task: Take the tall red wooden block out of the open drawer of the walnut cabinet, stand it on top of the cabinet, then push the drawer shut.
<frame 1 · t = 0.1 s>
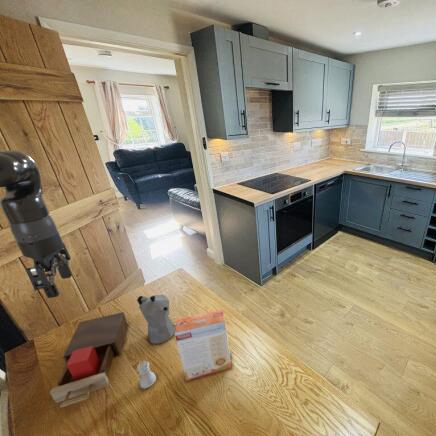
hand: (60, 286, 65), 33 cm above the table, tool pointing down, fingers open, 8 cm apart
drawer: (85, 374, 73), point 3 cm above the table, slide at 10.0 cm, touching block
block: (88, 372, 75), point 2 cm above the table, touching drawer
rook chess piece: (148, 382, 74), on the table
cabinet: (101, 345, 86), on the table
grey upright piece: (160, 333, 91), on the table
cracker box: (209, 366, 79), on the table
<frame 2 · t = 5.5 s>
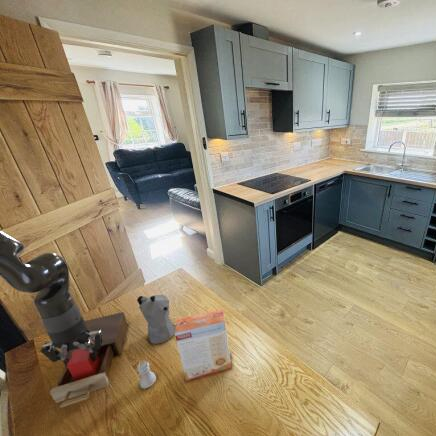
hand: (83, 362, 73), 7 cm above the table, tool pointing down, fingers closed on block, 5 cm apart
block: (88, 372, 75), point 2 cm above the table, touching drawer, gripper
everything else where it was.
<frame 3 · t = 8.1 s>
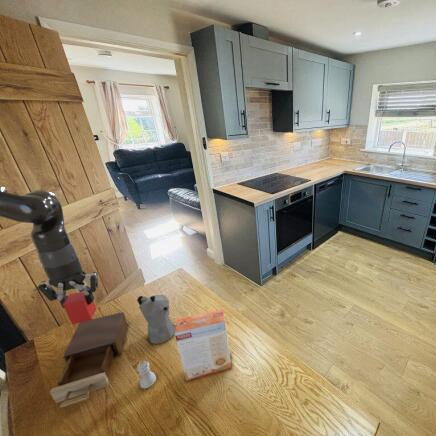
hand: (79, 304, 75), 21 cm above the table, tool pointing down, fingers closed on block, 5 cm apart
drawer: (85, 374, 73), point 3 cm above the table, slide at 10.0 cm
block: (84, 316, 77), point 16 cm above the table, touching gripper
everything else where it was.
when the fingers open (12 cm above the table, at t = 11.0 s): block stays where it is, resting on cabinet.
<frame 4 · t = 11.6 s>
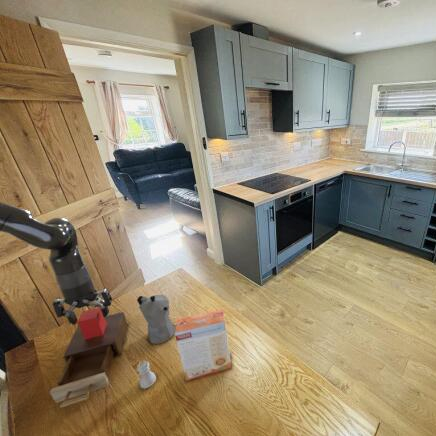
hand: (90, 318, 81), 13 cm above the table, tool pointing down, fingers open, 8 cm apart
block: (96, 331, 83), point 7 cm above the table, touching cabinet
everything else where it was.
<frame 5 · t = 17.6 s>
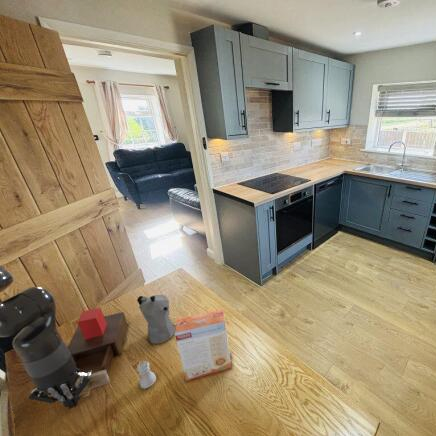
hand: (73, 404, 65), 4 cm above the table, tool pointing down, fingers closed
drawer: (86, 371, 73), point 3 cm above the table, slide at 9.1 cm, touching gripper
everything else where it was.
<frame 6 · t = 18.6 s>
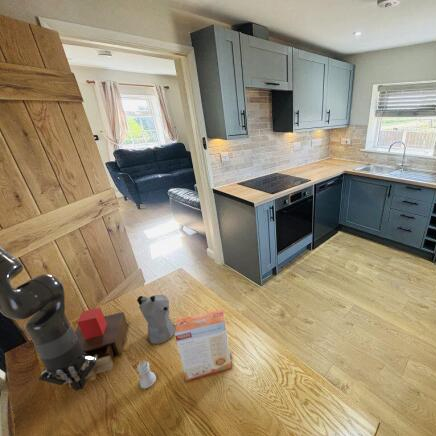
hand: (80, 386, 69), 3 cm above the table, tool pointing down, fingers closed
drawer: (91, 357, 78), point 3 cm above the table, slide at 4.1 cm, touching gripper
everything else where it was.
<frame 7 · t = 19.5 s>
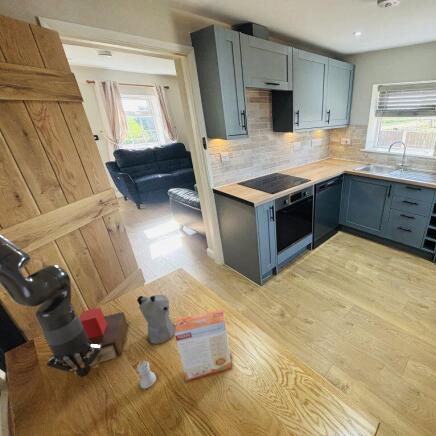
hand: (85, 373, 73), 3 cm above the table, tool pointing down, fingers closed
drawer: (95, 347, 81), point 3 cm above the table, slide at 0.0 cm, touching cabinet, gripper
everything else where it was.
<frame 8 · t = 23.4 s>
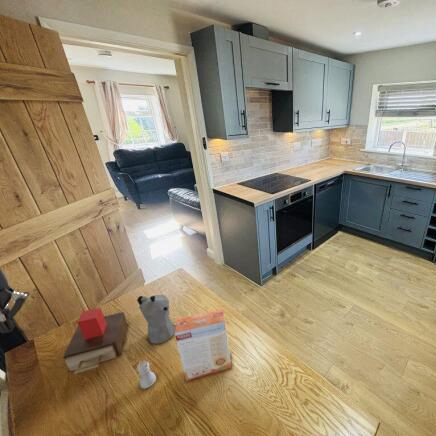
hand: (8, 330, 59), 27 cm above the table, tool pointing down, fingers closed
drawer: (95, 347, 81), point 3 cm above the table, slide at 0.0 cm
everything else where it was.
at the end: block inside the target area on the cabinet (0.5 cm from its centre), point 6.6 cm above the cabinet's base; block tilted 0°; drawer slide at 0.0 cm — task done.
